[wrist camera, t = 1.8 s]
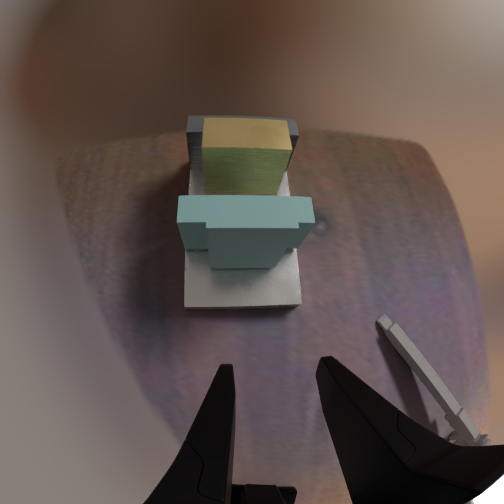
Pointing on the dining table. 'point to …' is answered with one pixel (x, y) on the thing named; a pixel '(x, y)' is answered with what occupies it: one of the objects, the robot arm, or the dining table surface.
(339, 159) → the dining table surface
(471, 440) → the grey long thin bar
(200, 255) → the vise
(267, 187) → the brass block
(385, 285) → the dining table surface
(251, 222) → the block
